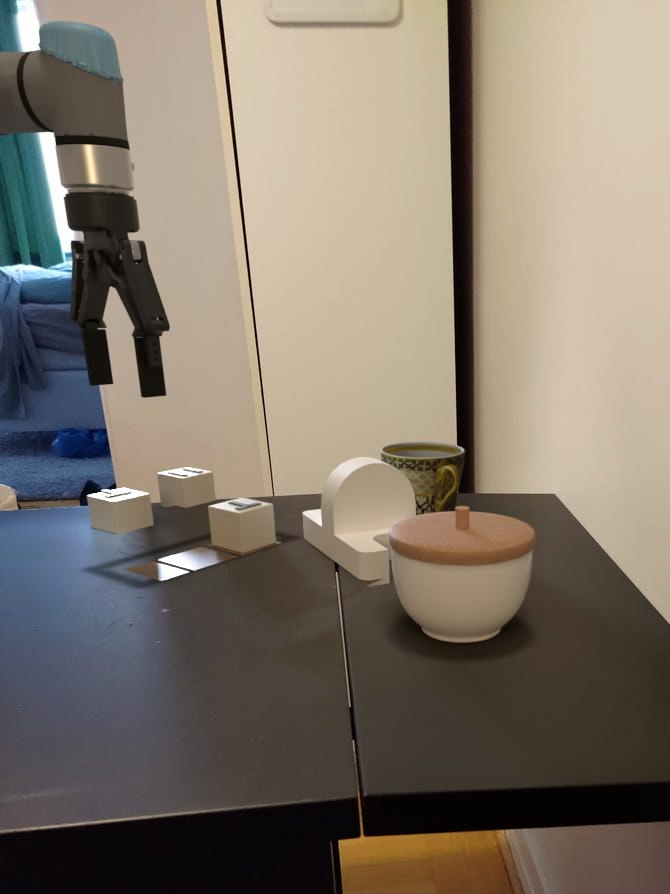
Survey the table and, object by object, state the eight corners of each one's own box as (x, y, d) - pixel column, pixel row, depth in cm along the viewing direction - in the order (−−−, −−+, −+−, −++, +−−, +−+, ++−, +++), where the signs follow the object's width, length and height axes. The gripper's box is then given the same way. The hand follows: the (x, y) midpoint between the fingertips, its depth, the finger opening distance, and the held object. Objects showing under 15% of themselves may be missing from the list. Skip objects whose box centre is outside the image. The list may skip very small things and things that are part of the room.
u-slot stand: (362, 587, 88) (358, 481, 84) (301, 541, 103) (295, 448, 98) (446, 573, 93) (447, 472, 89) (376, 531, 107) (374, 442, 103)
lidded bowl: (482, 668, 71) (484, 536, 67) (362, 633, 77) (357, 511, 73) (556, 621, 81) (562, 503, 77) (444, 593, 87) (444, 483, 83)
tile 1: (90, 532, 105) (84, 493, 103) (126, 523, 109) (121, 486, 107) (118, 539, 102) (112, 500, 100) (154, 530, 106) (149, 492, 104)
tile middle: (161, 506, 116) (156, 472, 114) (191, 499, 120) (187, 465, 118) (186, 512, 113) (181, 477, 112) (216, 505, 117) (213, 470, 115)
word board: (92, 581, 89) (91, 575, 88) (243, 536, 104) (243, 531, 104) (143, 598, 85) (142, 591, 84) (292, 548, 100) (292, 542, 100)
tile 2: (211, 545, 98) (207, 504, 97) (245, 535, 102) (242, 496, 100) (242, 553, 96) (238, 511, 94) (276, 542, 100) (273, 502, 98)
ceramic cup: (368, 527, 109) (365, 446, 105) (438, 516, 114) (438, 438, 110) (419, 555, 99) (419, 466, 95) (493, 542, 104) (495, 457, 100)
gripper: (187, 190, 92) (208, 398, 100) (84, 198, 108) (110, 378, 116) (118, 185, 87) (146, 405, 95) (20, 194, 103) (52, 382, 111)
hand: (126, 390), depth 106 cm, fingers open, 13 cm apart
